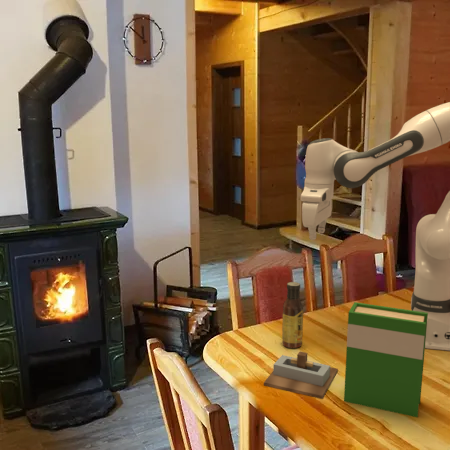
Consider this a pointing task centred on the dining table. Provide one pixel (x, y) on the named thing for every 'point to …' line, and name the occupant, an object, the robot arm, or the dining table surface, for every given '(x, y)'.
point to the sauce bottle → (292, 317)
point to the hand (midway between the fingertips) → (317, 235)
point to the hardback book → (385, 358)
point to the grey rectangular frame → (302, 371)
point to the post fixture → (299, 385)
